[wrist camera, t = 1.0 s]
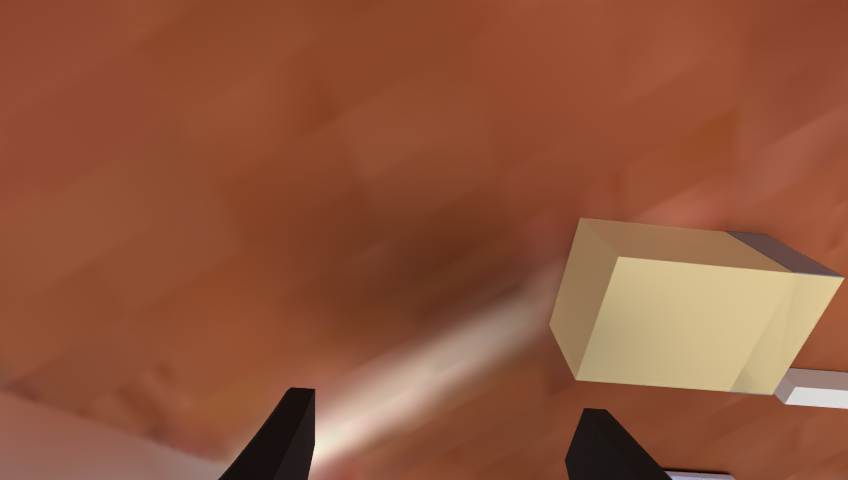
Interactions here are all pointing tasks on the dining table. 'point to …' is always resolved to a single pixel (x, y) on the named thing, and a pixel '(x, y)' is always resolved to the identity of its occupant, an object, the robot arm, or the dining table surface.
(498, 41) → the dining table surface
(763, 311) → the block
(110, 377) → the dining table surface
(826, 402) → the end holder
